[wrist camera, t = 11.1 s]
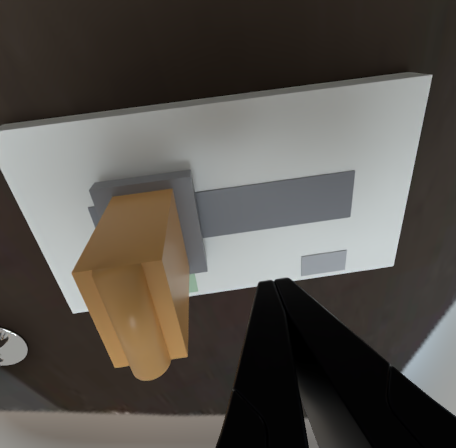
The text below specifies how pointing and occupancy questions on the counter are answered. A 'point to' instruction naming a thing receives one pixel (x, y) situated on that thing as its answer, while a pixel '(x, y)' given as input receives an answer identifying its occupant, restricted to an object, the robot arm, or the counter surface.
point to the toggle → (142, 268)
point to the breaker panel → (237, 176)
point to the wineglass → (11, 347)
